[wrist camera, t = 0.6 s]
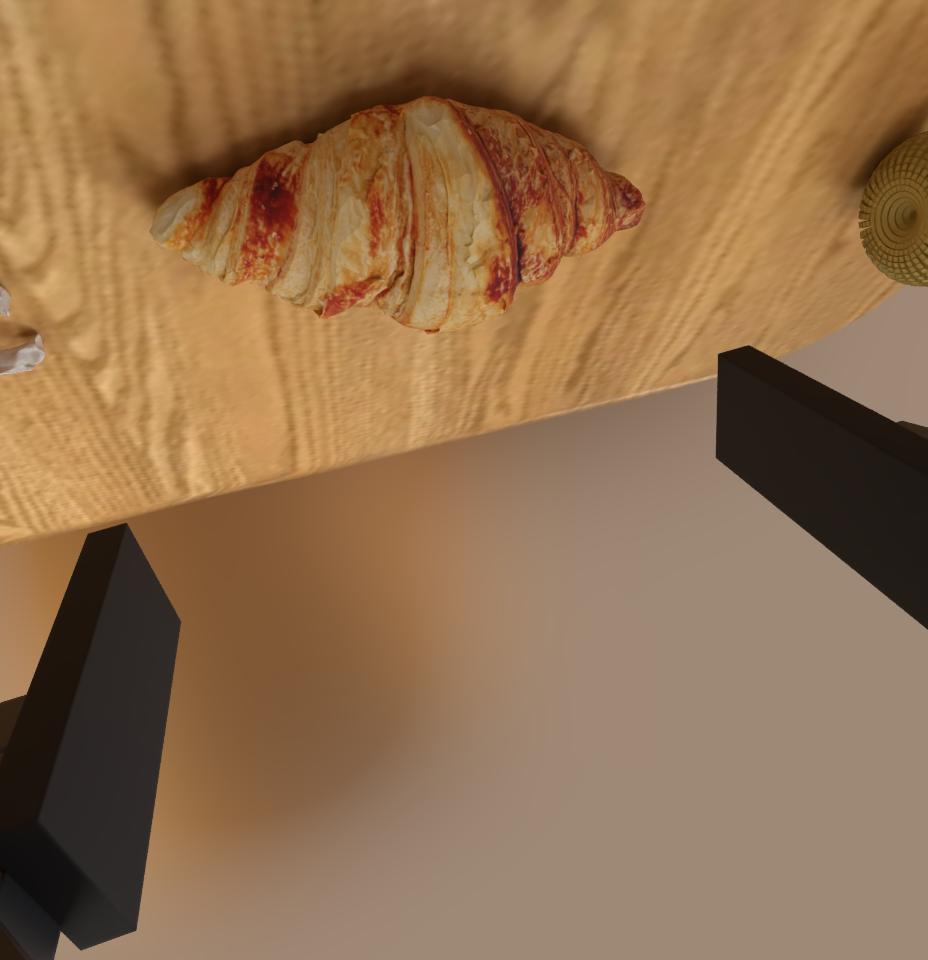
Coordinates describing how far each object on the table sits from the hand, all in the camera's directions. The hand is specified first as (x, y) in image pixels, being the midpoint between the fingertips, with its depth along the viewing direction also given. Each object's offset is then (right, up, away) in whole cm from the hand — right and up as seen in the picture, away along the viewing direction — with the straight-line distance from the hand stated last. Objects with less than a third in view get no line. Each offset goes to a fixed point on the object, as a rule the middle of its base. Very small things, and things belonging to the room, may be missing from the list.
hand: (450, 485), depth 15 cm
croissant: (-2, +13, +15) cm, 20 cm away
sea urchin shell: (+24, +18, +24) cm, 39 cm away
